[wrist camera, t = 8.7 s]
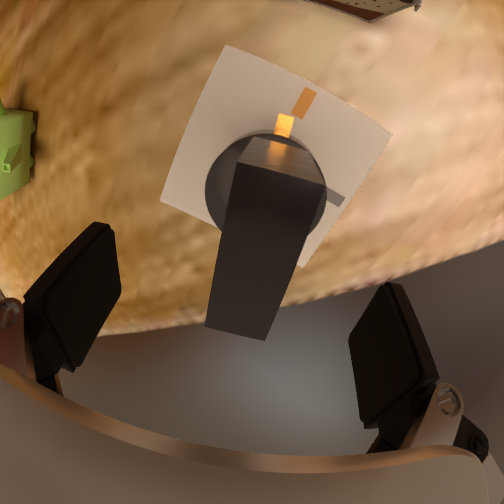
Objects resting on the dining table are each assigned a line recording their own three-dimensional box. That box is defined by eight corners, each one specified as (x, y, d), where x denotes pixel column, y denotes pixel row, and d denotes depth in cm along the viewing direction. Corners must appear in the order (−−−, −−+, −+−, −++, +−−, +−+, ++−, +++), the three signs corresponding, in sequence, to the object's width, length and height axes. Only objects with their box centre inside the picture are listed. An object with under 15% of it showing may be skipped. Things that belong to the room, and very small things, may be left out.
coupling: (301, 236, 23) (312, 349, 13) (209, 213, 23) (156, 312, 13) (338, 129, 18) (403, 172, 8) (231, 101, 17) (171, 107, 8)
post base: (164, 195, 30) (137, 222, 24) (228, 47, 21) (212, 31, 15) (302, 260, 33) (305, 299, 27) (387, 132, 23) (416, 145, 18)
